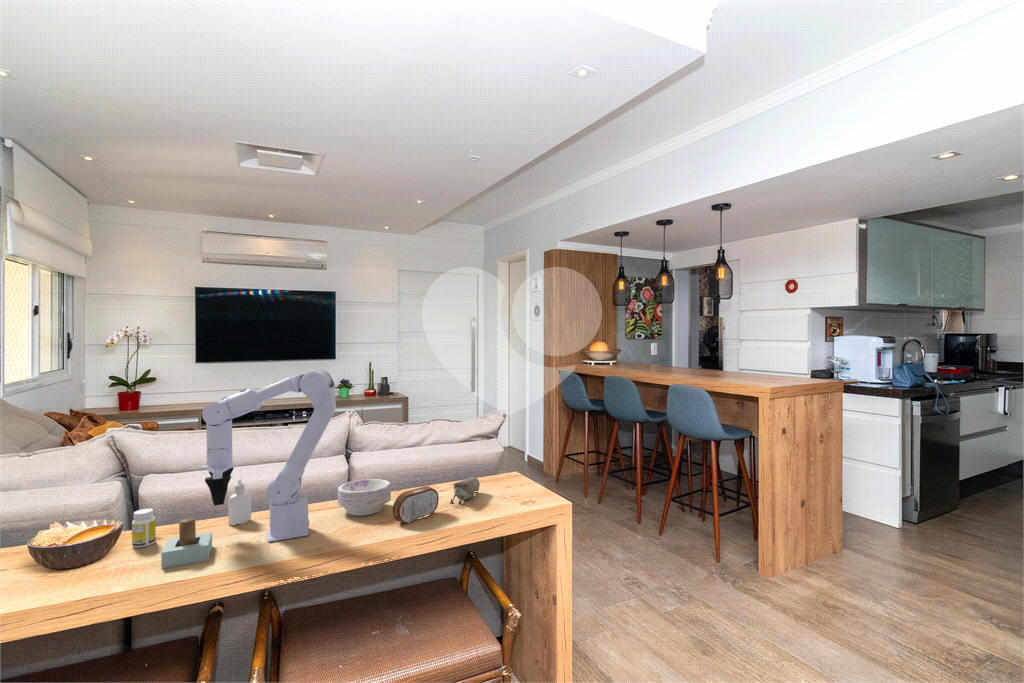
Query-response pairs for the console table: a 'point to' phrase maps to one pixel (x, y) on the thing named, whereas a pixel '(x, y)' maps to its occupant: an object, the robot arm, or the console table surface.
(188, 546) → the socket block
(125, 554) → the console table surface
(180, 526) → the pin
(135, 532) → the supplement bottle
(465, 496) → the decorative bird
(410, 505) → the tin
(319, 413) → the robot arm
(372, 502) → the paper bowls
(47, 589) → the console table surface
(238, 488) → the eye dropper bottle
